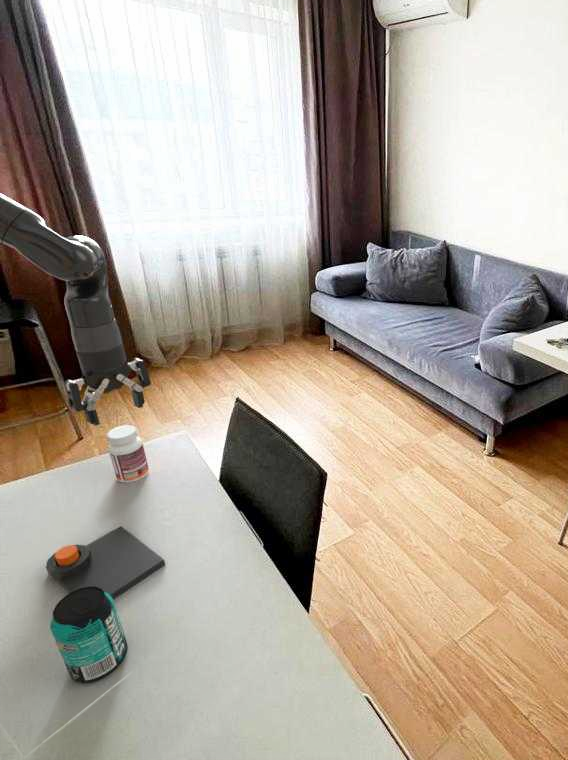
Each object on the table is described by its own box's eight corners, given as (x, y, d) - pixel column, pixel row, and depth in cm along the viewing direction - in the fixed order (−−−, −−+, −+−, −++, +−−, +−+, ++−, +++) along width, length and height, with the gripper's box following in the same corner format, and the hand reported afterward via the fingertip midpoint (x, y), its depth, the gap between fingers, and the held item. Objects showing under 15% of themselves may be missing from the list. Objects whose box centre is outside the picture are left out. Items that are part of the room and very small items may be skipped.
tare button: (54, 561, 83) (51, 553, 82) (74, 549, 85) (71, 542, 85) (62, 569, 82) (60, 561, 81) (82, 557, 84) (80, 550, 83)
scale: (44, 574, 84) (39, 561, 82) (121, 530, 94) (117, 518, 92) (87, 617, 77) (83, 603, 76) (165, 565, 87) (162, 552, 86)
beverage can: (108, 631, 75) (89, 574, 70) (139, 651, 73) (122, 594, 68) (59, 672, 69) (34, 613, 64) (90, 695, 67) (67, 636, 62)
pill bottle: (155, 468, 110) (145, 426, 106) (134, 486, 105) (123, 441, 100) (131, 464, 111) (120, 421, 106) (109, 481, 106) (96, 437, 101)
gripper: (126, 328, 102) (142, 396, 109) (46, 349, 91) (70, 424, 98) (146, 336, 99) (162, 406, 105) (66, 360, 87) (89, 436, 94)
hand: (117, 415), depth 102 cm, fingers open, 8 cm apart
